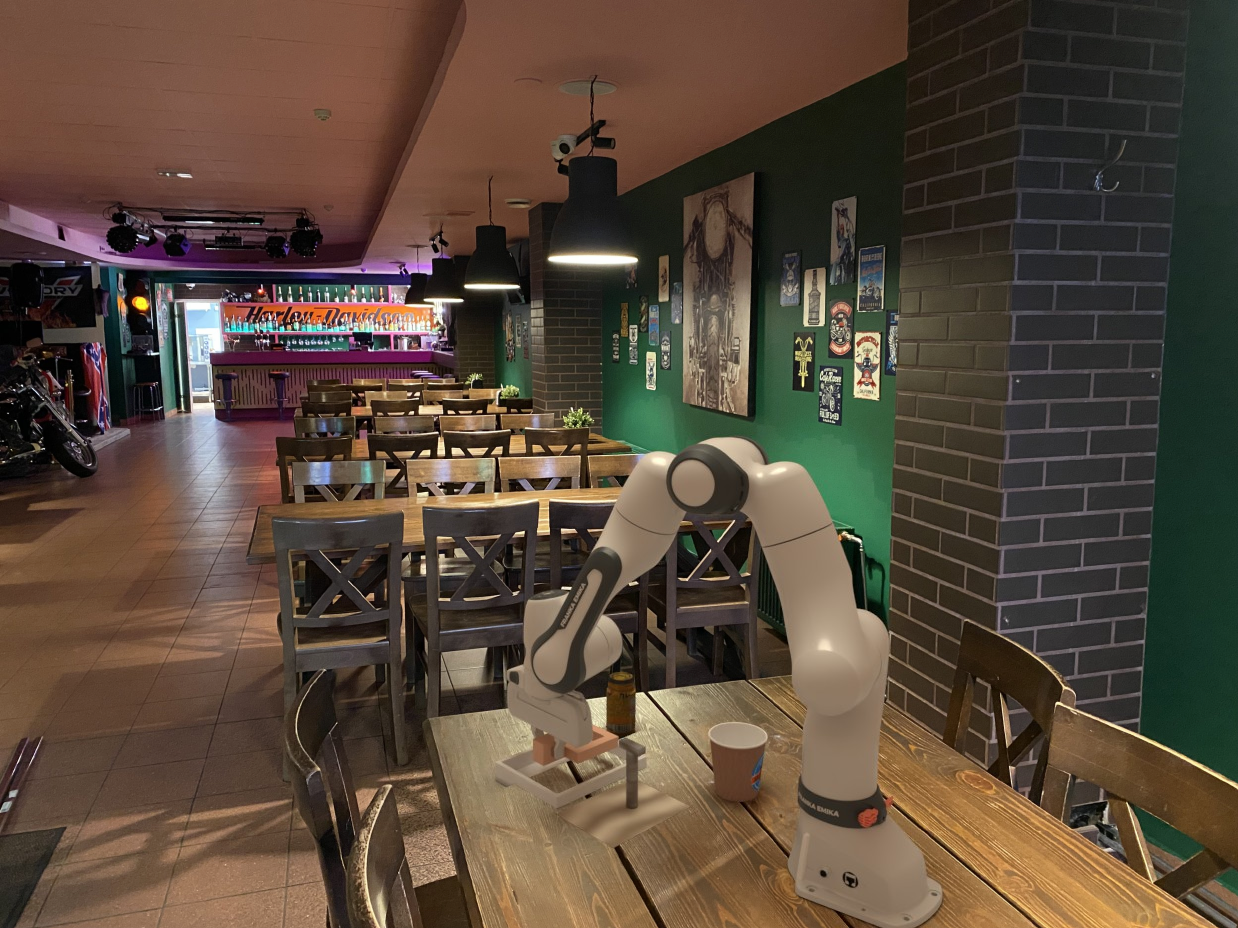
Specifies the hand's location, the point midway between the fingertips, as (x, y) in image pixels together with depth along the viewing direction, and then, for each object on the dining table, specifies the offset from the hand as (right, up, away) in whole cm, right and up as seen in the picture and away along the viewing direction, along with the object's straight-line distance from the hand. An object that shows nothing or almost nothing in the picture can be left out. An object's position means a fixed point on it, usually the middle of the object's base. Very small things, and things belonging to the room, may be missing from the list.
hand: (549, 752), depth 159 cm
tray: (+4, -6, +4) cm, 8 cm away
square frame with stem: (+4, -1, +3) cm, 5 cm away
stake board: (+13, -8, -10) cm, 18 cm away
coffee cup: (+33, -7, -3) cm, 34 cm away
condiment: (+13, -4, +23) cm, 27 cm away
